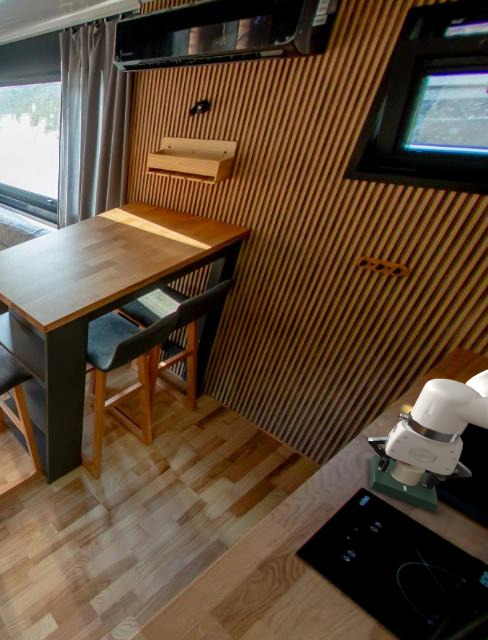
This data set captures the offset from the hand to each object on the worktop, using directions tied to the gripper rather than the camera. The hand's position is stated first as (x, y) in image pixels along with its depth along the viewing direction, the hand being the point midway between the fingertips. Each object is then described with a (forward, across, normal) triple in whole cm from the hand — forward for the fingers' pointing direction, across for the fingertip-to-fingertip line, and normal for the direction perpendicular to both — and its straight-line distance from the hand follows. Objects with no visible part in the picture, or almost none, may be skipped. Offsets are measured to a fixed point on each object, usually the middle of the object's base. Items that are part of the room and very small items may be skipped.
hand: (404, 475), depth 91 cm
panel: (+4, 0, 0) cm, 4 cm away
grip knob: (+1, 0, 0) cm, 1 cm away
